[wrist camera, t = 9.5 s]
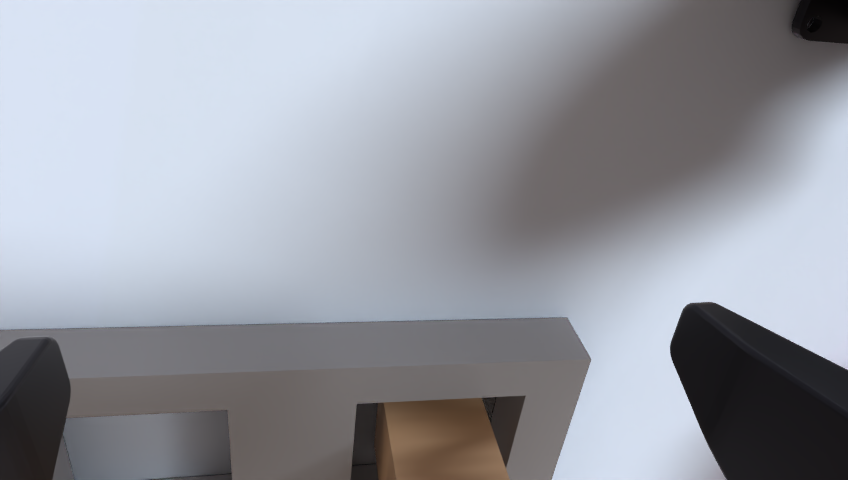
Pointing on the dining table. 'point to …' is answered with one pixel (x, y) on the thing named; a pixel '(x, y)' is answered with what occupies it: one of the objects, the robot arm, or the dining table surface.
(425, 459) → the plug
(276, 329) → the socket plate
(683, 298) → the dining table surface
